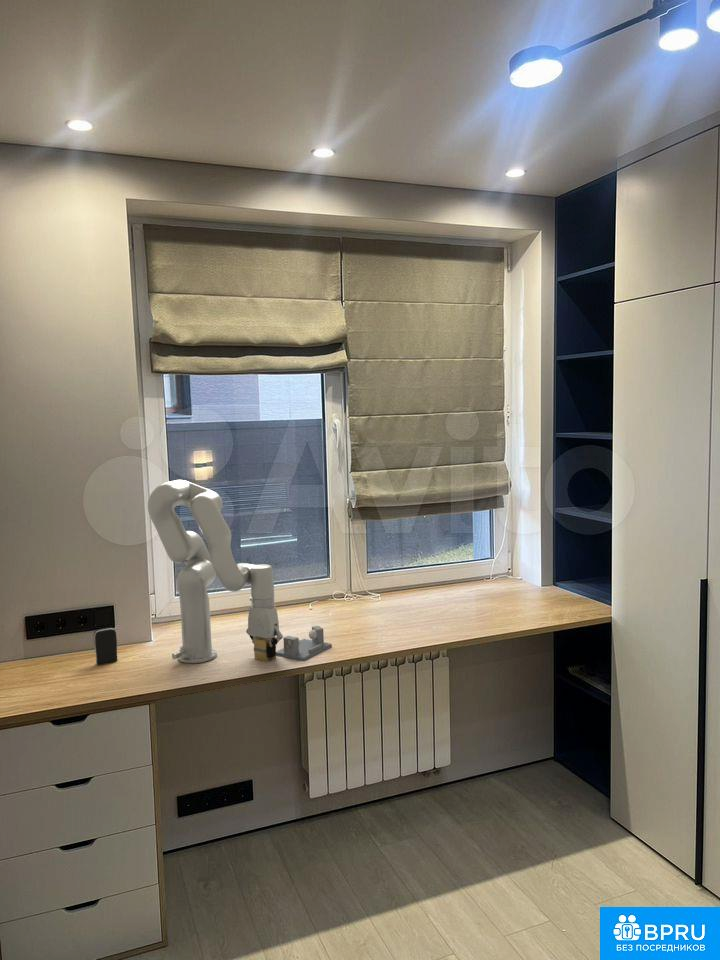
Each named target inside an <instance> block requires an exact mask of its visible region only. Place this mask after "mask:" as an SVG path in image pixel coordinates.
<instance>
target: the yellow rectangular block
mask: <svg viewBox="0 0 720 960" xmlns="http://www.w3.org/2000/svg"><path fill="white" fill-rule="evenodd" d="M271 639H272V638H271ZM272 641H273V640H272ZM268 647H269V643H268V639H265V638H260V637H257V638H254V644H253V652H254V653H253V654H254V660H256V661H260V662H264V663H265V662H266V663H267V662H269V661H271V660H274V659H276V658H277V655H276V656H275V657H273V658H271V659H270V658H268Z"/></svg>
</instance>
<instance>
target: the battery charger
mask: <svg viewBox="0 0 720 960" xmlns="http://www.w3.org/2000/svg"><path fill="white" fill-rule="evenodd" d="M93 645H94V652H95V664H96V665H97V666H101V664H102V665H107V664H111V662H112V663H115V662H117V661H118V639H117V631H116V630H115V629H114V628H112V627H105V628H100V629H99V628H98V629H96V630H95V631H94V632H93ZM106 663H107V664H106Z"/></svg>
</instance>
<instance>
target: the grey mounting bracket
mask: <svg viewBox="0 0 720 960" xmlns="http://www.w3.org/2000/svg"><path fill="white" fill-rule="evenodd" d="M308 637H309V639H306V638H302V639H301V640H300V638H299V637H297V636H291V635H287V636H285V637H284V636H283V638H282V639H283V647H282V648H281V649H279V650H276V657H277V656H278V657H283V658H288V659H293V660H298V661H302V660H303V661H306V660H308V659H310V658H312V657H314V656H316V655H318V654H320V653H322V652H323V651H326V650H328V649H330V648H332V647H333V645H332V643H329V642H325V641H324V640H325V639H324V638H325V636H324V628H323V627H321V626H319V625H314V626H311V630H310V631H309V632H308Z"/></svg>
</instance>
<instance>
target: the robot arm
mask: <svg viewBox="0 0 720 960" xmlns="http://www.w3.org/2000/svg"><path fill="white" fill-rule="evenodd" d="M223 505H224V504H223V499H222V497H221V496H220V495H219V494H218V493H217V492H215V491H213V490H211V489H209V488H206V487H204V486H200V485H198V484H196V483H193V482H190V481H188V480H185V479H184V480H183V479H176V480H171V481H166V482H163V483H161V484H159V485H157V486H156V487H155V488H154V489H153V490H152V492H151V493H150V495H149V497H148V501H147V512H148V515H149V518H150V519H151V522H152V524H153V527H155V530H156V532H157V534H158V537H159V539H160V541H161V544H162V545H163V548H164V550H165V552H166V554H167V556H168V558H169V560H171V562H172V563H174V564H183V563H184V565H185V566H184V567H183V568H182V569H181V570H180V572H178V575H177V578H176V587H177V593H178V599H179V608H180V625H181V641H182V642H181V643H182V644H181V645H182V646H180V647H179V648H180V649H179V651H177V652H174V653H172V655H171V658H172V660H176V659H178V661H179V662H181V663H186V664H198V663H199V664H200V663H205V662H209V661H211V660H212V661H213V659H215V658H216V657H217V654H218V653H217V650H216V649H214V648H213V647H212V629H211V628H212V627H211V606H210V597H209V595H208V590H207V589H208V587H209V585H211V584H213V583H214V581H215V580H216V577H218V579H219V582H220V583H221V585H222V586H223V587H224V588H225V589H226V590H227V591H229V592H231V593H232V592H239V591H241V590H242V589H244V588H245V587H246V586H248V585H250V597H249V601H250V602H251V605H250V606H249V609H248V618H247V629H246V630H245V631H246V632H245V633H246V634H247V635H248V636H249V638H250V639H251V640H252V641H251V642H252V644H253V645H254V638H257V637H260V638H265V639H268V643H269V647H268V658H270V659H271V658H273V657H275V656H276V657H277V655H276V652H277V645H278V644H279V642H280V640H282V639H283V638H284V636H283V634H282V632H281V631H280V625H279V623H280V622H279V615H278V609H277V607H276V606H277V605H275V585H274V584H275V583H274V581H275V580H274V568H273V566H272V565H270V564H267V563H266V564H265V563H261V564H252V563H244V562H240V563H236V561H235V558H234V555H233V552H232V546H231V545H232V544H231V543H232V530H231V529H230V527H229V525H228V524H227V522H226V520H225V518H224V516H223V514H222V512H221V511H222V509H223ZM177 506H184V507H187V508H189V510H190V513H191V515H192V517H193V519H194V520H195V523H196V525H197V526H198V528H199V530H200V531H201V534H202V536H203V538H204V539H203V538H202V537H201V536H200V535H199V533H197V532H195V531H192V530H186V528H185V526H184V524H183V521H182V520H181V518H180V516H179V515H178V514H177V513H176V511H175V509H176V507H177ZM204 540H205V541H206V543H205V541H204ZM206 544H207V545H206ZM271 638H272V639H271ZM272 640H273V641H272ZM276 657H275V658H276ZM273 659H274V658H273ZM271 660H272V659H271Z"/></svg>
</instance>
